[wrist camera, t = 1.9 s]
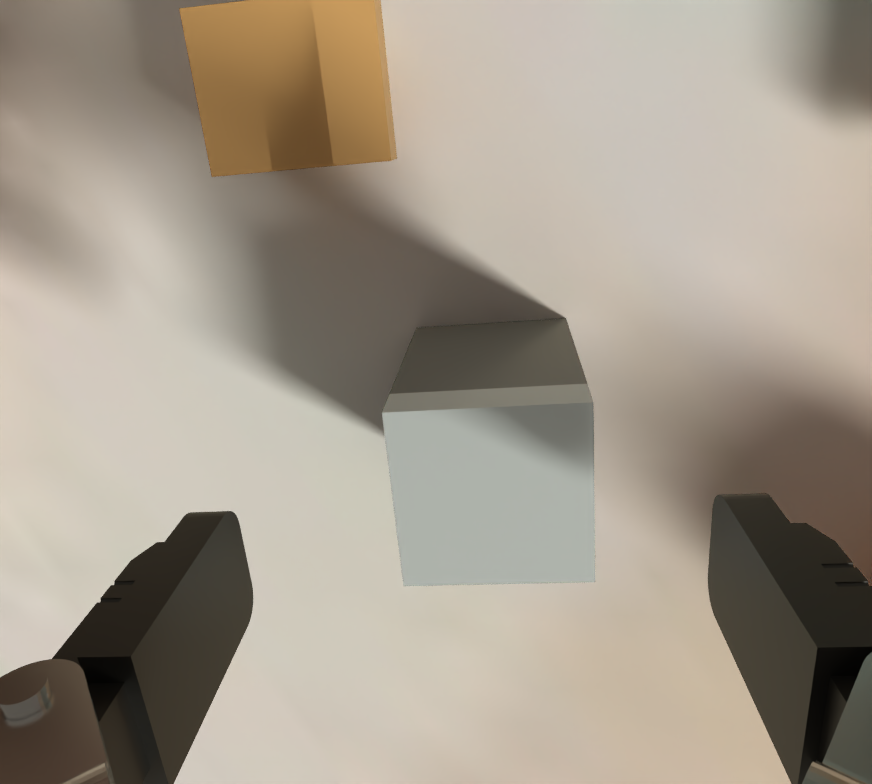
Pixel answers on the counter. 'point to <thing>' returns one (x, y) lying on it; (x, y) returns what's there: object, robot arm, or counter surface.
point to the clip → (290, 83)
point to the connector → (492, 456)
